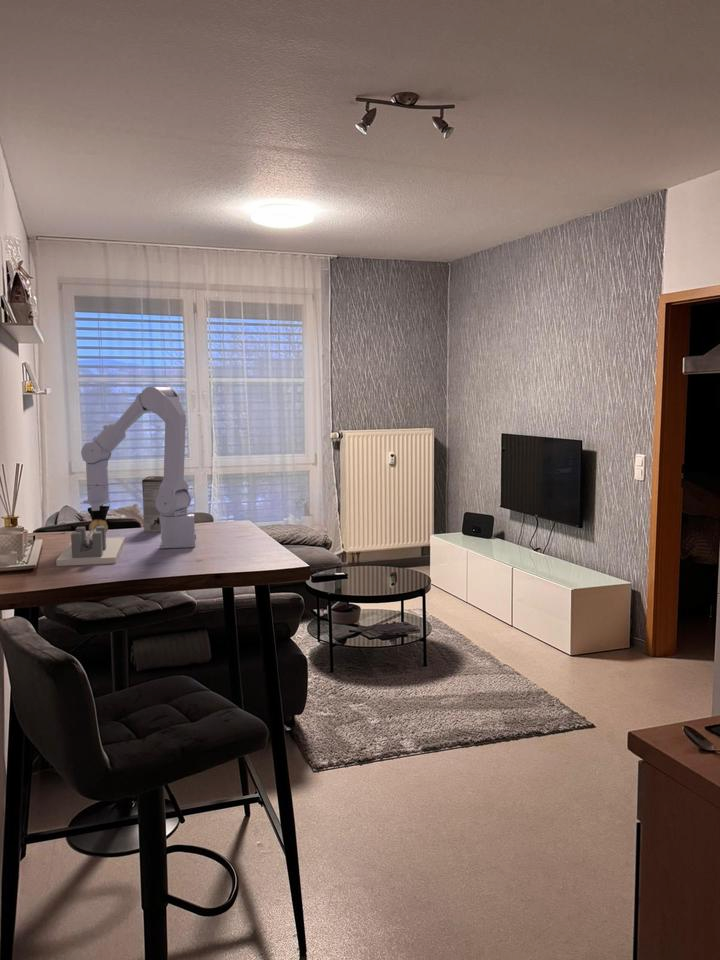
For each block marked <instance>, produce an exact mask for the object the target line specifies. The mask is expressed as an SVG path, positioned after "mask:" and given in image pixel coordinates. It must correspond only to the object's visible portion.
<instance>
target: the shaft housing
mask: <svg viewBox="0 0 720 960" xmlns="http://www.w3.org/2000/svg"><path fill="white" fill-rule="evenodd" d="M86 531H87V529H86V526H77V527H76V528H75V531H73V532H72V533H71V534H70V542H69V543H68V544H67V546H66V547H65V548H64V549H63V551H62V552H61V554H60V555H59V556H58V557H57V559H56V560H55V563H56V567H65V566H67V567H68V566H69V567H70V566H85V565H105V564H107V565H108V564H110V565H111V564H116V563H117V562H118V560H119V557H120V554H121V552H122V550H123V548H124V546H125V544H126V540H125V539H126V537H124V536H123V537H107V536H106V535H107V532H106V530H105V526H97V527H96V531H94V532H93V533H92V542H93V545H92V547H90V548H85V547H84V546H83V541H84V540H85V538H86V537H87V535H86V534H87V533H86Z"/></svg>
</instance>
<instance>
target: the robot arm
mask: <svg viewBox="0 0 720 960" xmlns="http://www.w3.org/2000/svg"><path fill="white" fill-rule="evenodd" d="M149 412H151V413H153V414H156V415H157V416H158V417H159V419H161V420H162V421H163V422H164V423H165V424H164V450H163V451H164V452H163V455H164V456H163V477H164V479H163V481H162V483H161V485H160V487H159V493H158V496H157V498H156V501H155V505H156V508H157V510H158V511H159V512H160V517H161V532H160V537H161V538H160V539H161V540H160V542H159V543H160V544H159V549H178V548H182V549H183V548H195V547H196V541H197V533H196V530H195V529H196V527H195V525H196V524H195V513H188V508H189V507H190V505H191V502H192V501H191V500H192V497H191V495H190V492H189V484H188V483H187V482H186V481H185V479H184V478H185V476H184V475H185V454H186V453H185V452H186V451H185V450H186V449H185V448H186V424H187V423H186V422H187V420H186V419H187V417H186V416H187V415H186V412H185V410H184V408H183V406H182V403H181V402H180V395H179V393H177V392H176V391H175V390H174V389H173V388H172V387H171V386H148V387H145V388H143V390H142V391H141V393H138V394H137V395H136V398H135V399H134V401H133V402H132V403H131V404H130V406H129V407H128V408H127V409H126V410H125V412H123V414H122V415H121V416H120V418H118V420H117V421H116V422H110V423H108V424H107V423H106V424H105V425H104V426H103V427H102V430H101V431H100V432H99V434H98V435H97V436H94V437H93V438H92V442H91V441H90V442H86V443H84V444H83V447H82V448H81V452H80V455H81V458H82V460H83V461H84V462H85V470H86V471H85V472H86V475H85V477H86V491H87V494H86V495H87V499H86V500H85V499H84V500H83V501H82V503H83V504H87V505H89V506H91V507H88V508H87V512H88V514H89V515H90V518H91V520H92V521H93V520H95V519H102V520H104V521H105V522H106V521H107V516H108V511H109V510H110V508H111V507H110V505H106V504H109V503H111V501H110V498H109V497H110V495H109V493H110V492H109V475H108V474H109V473H108V466H109V460H110V459H111V456H112V452H113V451H114V450H115V449H116V448H117V447H118V446H119V444H120V443H122V442H123V440H125V438H126V435H127V434H126V431H127V430H128V429H129V428H131V426H133V425H134V424H135V423H136V422H137V421H138V420H139V419H140V418H141V417H142V416H143V415H144V414H146V413H149ZM92 521H91V522H92Z"/></svg>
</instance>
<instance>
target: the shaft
mask: <svg viewBox="0 0 720 960" xmlns="http://www.w3.org/2000/svg"><path fill="white" fill-rule="evenodd" d="M97 526H105V530H106V533H107V532H108V530H109V526H108V524H107V522H106V521H104V520H102V519H95V520H93V521H91V522H90V523H89V526H88V531H89V533H88V534H87V535H86V538H85V540H84V541H83V546H84V547H85V548H90V547H92V545H93V542H92V533H93V532H94V531H96V527H97Z"/></svg>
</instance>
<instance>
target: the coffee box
mask: <svg viewBox="0 0 720 960" xmlns="http://www.w3.org/2000/svg"><path fill="white" fill-rule="evenodd" d="M163 479H164V476H162V475H161V476H160V475H155V476H154V475H151V476H150V475H149V476H147V477H145V478H143V479H142V480H141V485H142V486H141V487H142V489H141V490H142V511H143V512H142V513H143V515H142V516H143V532H149V533H150V532H156V533H157V532H160V533H161V517H160V512H159V511H158V510H157V508H156V505H155V501H156V498H157V496H158V493H159V487H160V485H161V483H162V481H163Z"/></svg>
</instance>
